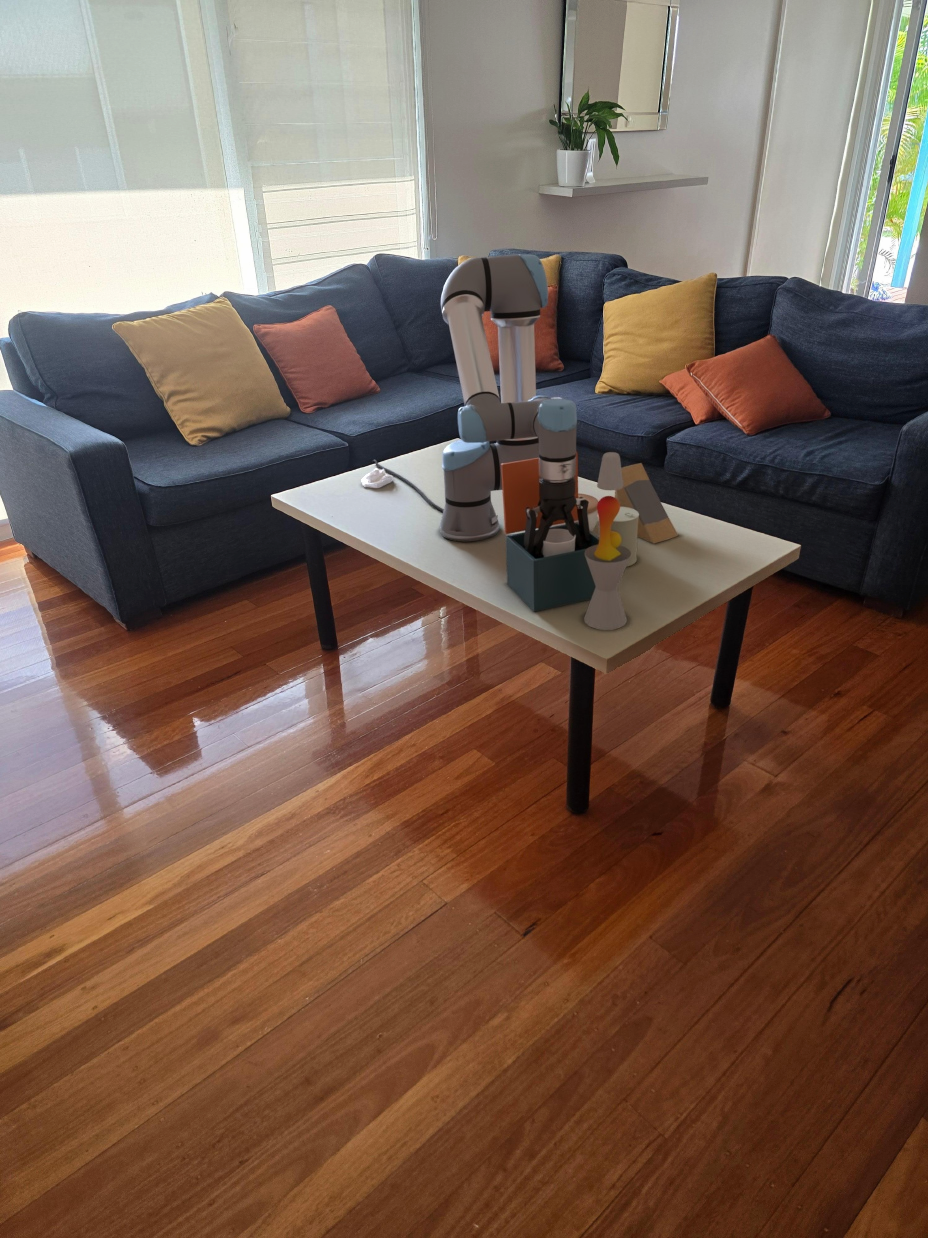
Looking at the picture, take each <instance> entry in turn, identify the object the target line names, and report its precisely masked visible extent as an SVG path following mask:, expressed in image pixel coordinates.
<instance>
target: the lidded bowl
mask: <svg viewBox="0 0 928 1238" xmlns="http://www.w3.org/2000/svg"><path fill="white" fill-rule="evenodd" d="M580 497H583V498H584V499H586V500H587V501H588V502H589V504H588V509H587V514H588V522H589V530H590V531H591V532H593V530H594V529H595V527H596V524H597V522H598V518H599V516H598V511H597V504H598V502H599V500H598V499H597V498H596V497H595V496H593V495H590V494H585V493H579V492H578V498H580ZM575 522H578V520H577V521H574V523H575ZM564 524H565V523H562V524H557V525H552V526H551V527H554V526H559V525H564Z"/></svg>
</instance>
